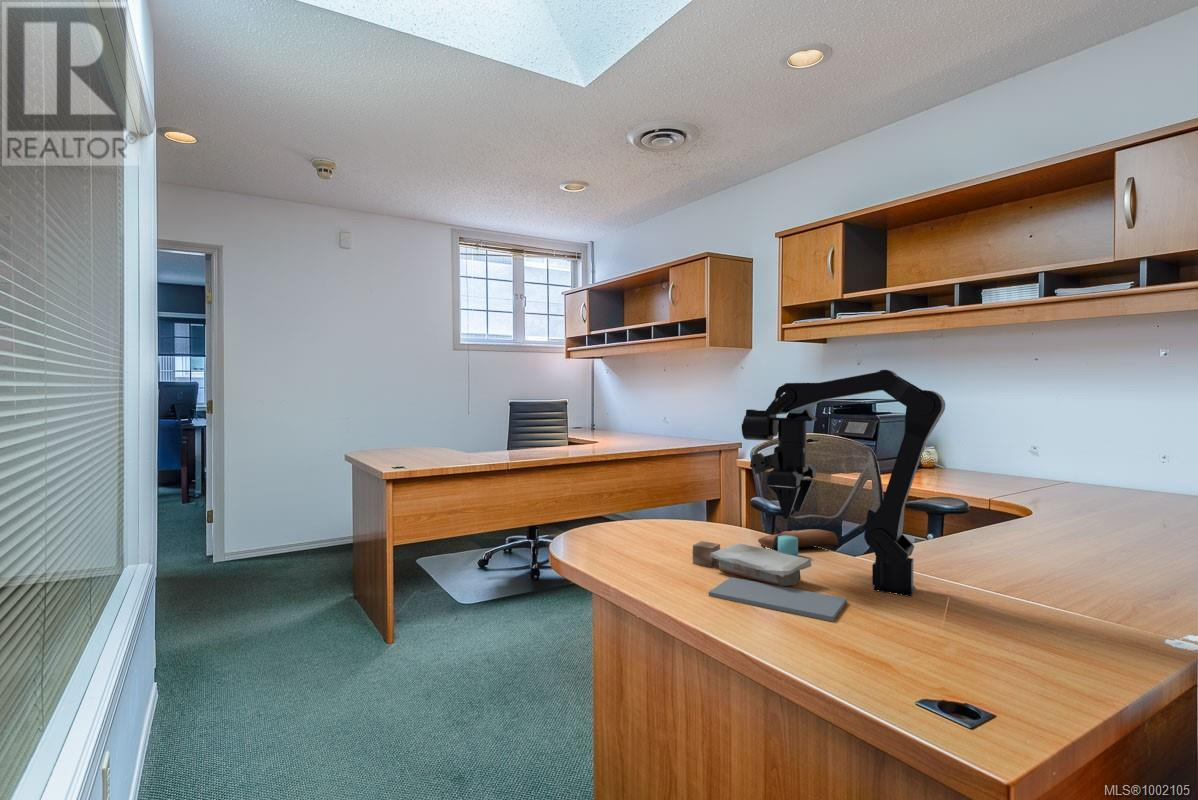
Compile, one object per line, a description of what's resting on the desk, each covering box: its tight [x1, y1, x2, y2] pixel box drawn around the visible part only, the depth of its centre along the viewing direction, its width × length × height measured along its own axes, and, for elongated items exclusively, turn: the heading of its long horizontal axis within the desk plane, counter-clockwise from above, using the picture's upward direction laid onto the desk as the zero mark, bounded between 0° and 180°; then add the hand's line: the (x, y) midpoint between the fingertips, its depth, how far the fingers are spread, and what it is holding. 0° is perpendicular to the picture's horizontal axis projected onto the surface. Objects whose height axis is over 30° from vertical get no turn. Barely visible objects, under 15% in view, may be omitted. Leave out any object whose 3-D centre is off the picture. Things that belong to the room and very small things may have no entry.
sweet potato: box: [757, 528, 839, 551], centre depth 145 cm, size 18×7×7 cm
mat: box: [708, 576, 848, 622], centre depth 108 cm, size 22×11×1 cm, turn 56°
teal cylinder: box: [778, 536, 799, 557], centre depth 137 cm, size 4×4×4 cm
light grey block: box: [710, 542, 812, 587], centre depth 121 cm, size 18×5×10 cm
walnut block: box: [692, 540, 721, 568], centre depth 131 cm, size 4×4×4 cm
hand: (791, 514), depth 126 cm, fingers open, 9 cm apart
